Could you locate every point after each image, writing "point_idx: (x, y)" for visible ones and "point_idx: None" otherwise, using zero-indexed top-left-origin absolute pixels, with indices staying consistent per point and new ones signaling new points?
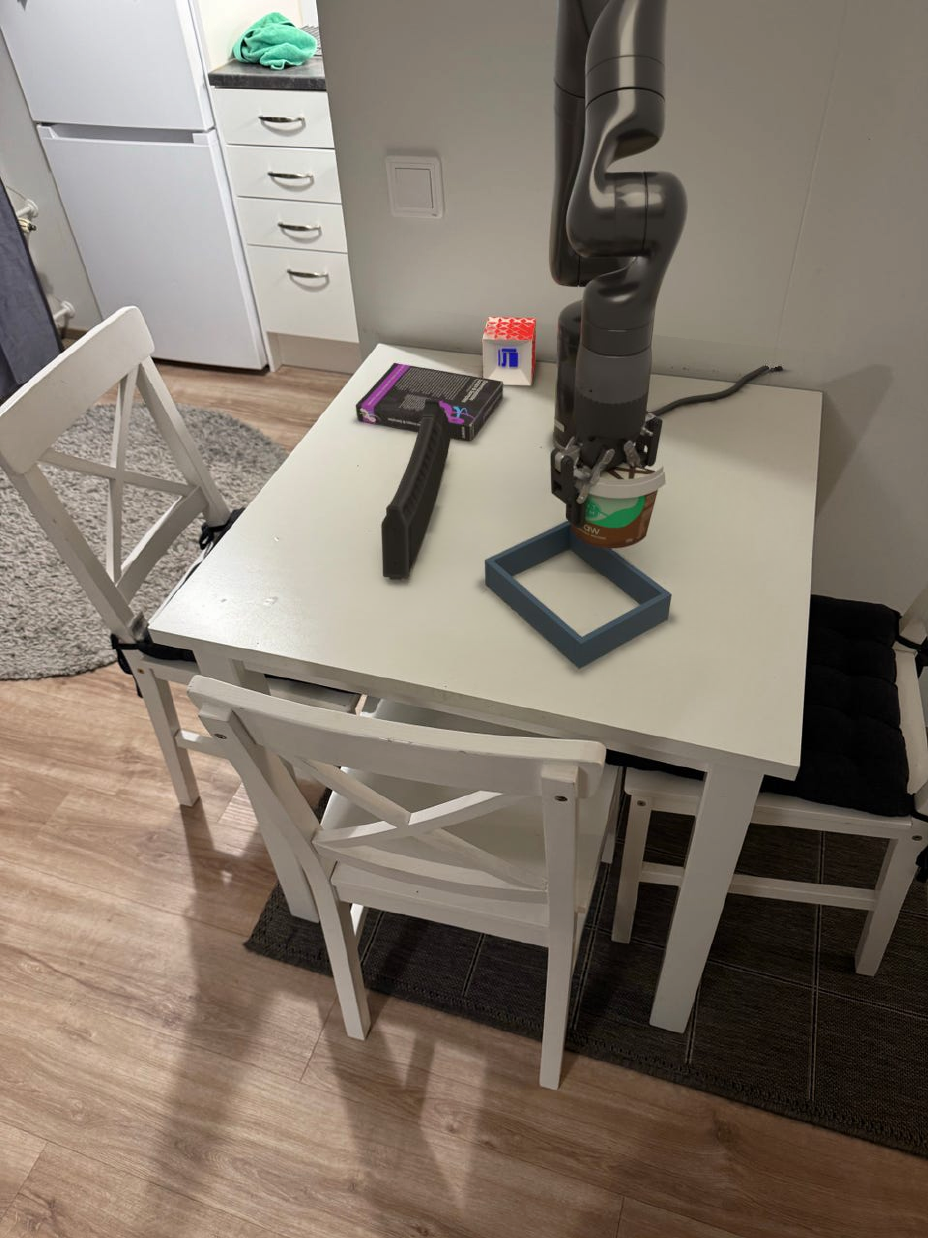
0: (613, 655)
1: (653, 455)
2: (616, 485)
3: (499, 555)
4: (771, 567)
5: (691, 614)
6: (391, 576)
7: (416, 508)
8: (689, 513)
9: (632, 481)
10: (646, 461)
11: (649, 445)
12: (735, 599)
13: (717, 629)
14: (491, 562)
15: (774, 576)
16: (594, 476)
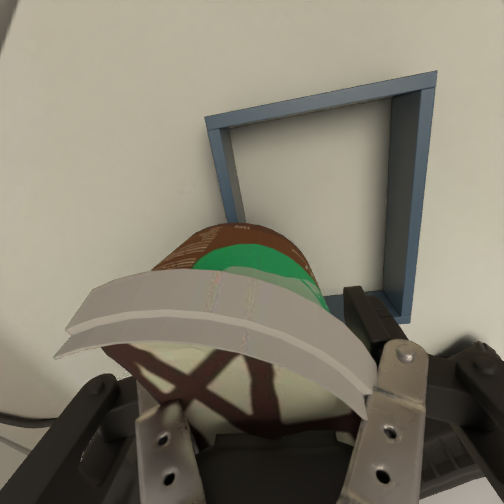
0: (337, 84)
1: (76, 412)
2: (314, 350)
3: None
4: (19, 147)
5: (177, 111)
6: (494, 352)
7: (449, 433)
8: (91, 288)
9: (242, 339)
10: (112, 397)
11: (63, 471)
12: (98, 108)
13: (155, 55)
14: (406, 315)
15: (21, 126)
16: (411, 437)
